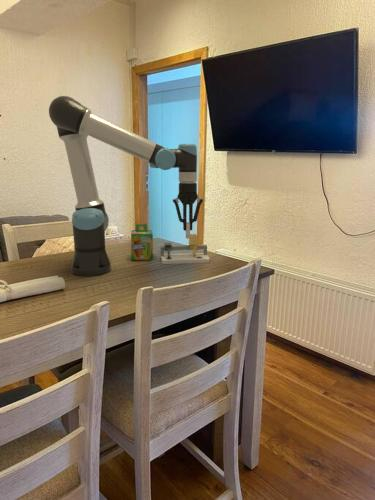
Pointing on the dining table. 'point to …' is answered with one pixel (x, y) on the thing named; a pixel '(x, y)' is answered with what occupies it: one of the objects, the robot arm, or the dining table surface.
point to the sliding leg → (193, 243)
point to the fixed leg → (168, 248)
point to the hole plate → (185, 255)
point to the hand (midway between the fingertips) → (187, 237)
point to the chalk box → (141, 243)
